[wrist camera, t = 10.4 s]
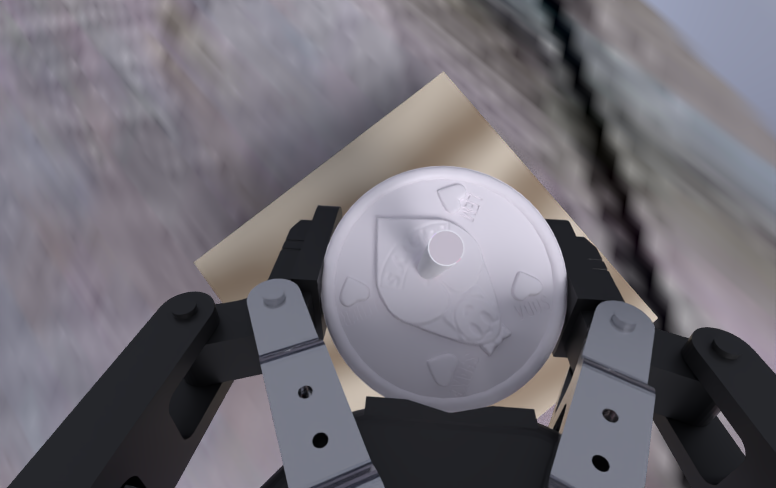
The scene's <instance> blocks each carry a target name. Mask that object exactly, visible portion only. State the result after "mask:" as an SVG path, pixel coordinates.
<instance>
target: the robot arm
mask: <svg viewBox="0 0 776 488" xmlns="http://www.w3.org/2000/svg"><path fill="white" fill-rule="evenodd" d="M341 219H342V208H341V207H340V206H323V205H318V206H317V208H316V211H315V213H314V216H313V219H312V220H300V221H299V222H298V223H296V224H295V225H294V226H293V227H292V228H290V231H289V233H288V235H287V237H286V241H285V242H284V244H283V246H282V250H281V251H280V253H279V256H278V258H277V260H276V262H275V265H274V267H273V269H272V271H271V274H270V276H269V278H268V280H267V281H264V282H262V283H260V284H258V285H257V286H255V287H254V288H253V289H252V290H251V291H250V293H249V294H248V297H247V298H245V299H242V300H238V301H232V302H227V303H221V304H215V303H214V301H213V299H212V298H211V296H209V295H208V294H205V293H202V292H187V293H183V294H180V295H177V296H175V297H173V298H171V299H169V300H168V301H166V302H165V303H164V304H163V305H162V306H161V307H160V308H159V309H158V310H157V312H156V313H155V314H154V315H153V316H152V317H151V319H150V320H149V321H148V322H147V323H146V325H145V326H144V327H143V328H142V329H141V330H140V332H139V333H138V334H137V335H136V336H135V337H134V339H133V340H132V341H131V342H130V343H129V345H128V346H127V347H126V348H125V349H124V350H123V352H122V353H121V354H120V355H119V356H118V358H117V359H116V360H115V361H114V362H113V363H112V365H111V366H110V367H109V368H108V369H107V371H106V372H105V373H104V374H103V375H102V376H101V378H100V379H99V380H98V381H97V382H96V383H95V385H94V386H93V387H92V388H91V389H90V391H89V392H88V393H87V394H86V395H85V396H84V398H83V399H82V400H81V401H80V402H79V404H78V405H77V406H76V407H75V408H74V409H73V411H72V412H71V413H70V414H69V415H68V417H67V418H66V419H65V420H64V421H63V422H62V424H61V425H60V426H59V427H58V428H57V429H56V431H55V432H54V433H53V434H52V435H51V437H50V438H49V439H48V440H47V441H46V442H45V444H44V445H43V446H42V447H41V448H40V450H39V451H38V452H37V453H36V454H35V455H34V457H33V458H32V459H31V460H30V461H29V463H28V464H27V465H26V466H25V467H24V468H23V470H22V471H21V472H20V473H19V474H18V475H17V477H16V478H15V479H14V480H13V481H12V483H11V484H10V485H9V486H8V487H7V488H175V486H176V485H177V483H178V481H179V479H180V477H181V476H182V474H183V472H184V470H185V468H186V466H187V465H188V463H189V461H190V459H191V457H192V456H193V454H194V452H195V450H196V448H197V446H198V445H199V443H200V441H201V439H202V437H203V436H204V434H205V432H206V430H207V428H208V426H209V425H210V423H211V421H212V419H213V417H214V415H215V414H216V412H217V410H218V408H219V406H220V405H221V403H222V401H223V399H224V397H225V395H226V394H227V392H228V390H229V388H230V386H231V385H232V383H233V381H234V380H236V379H240V378H245V377H250V376H254V375H259V374H263V378H264V382H265V387H266V391H267V396H268V400H269V404H270V409H271V413H272V417H273V422H274V426H275V431H276V435H277V439H278V444H279V448H280V453H281V457H282V461H283V466H282V467H281V468H280V469H279V470H278V471H277V472H276V473H275V474H273V475H272V476H271V477H270V478H269V479H268V480H267V481H266V482H265V483H264V484H263V485H262V486H261V487H260V488H645V482H646V473H647V464H648V456H649V447H650V438H651V430H652V421H654V422H655V424H656V426H657V428H658V429H659V431H660V433H661V435H662V436H663V438H664V440H665V442H666V443H667V445H668V447H669V449H670V450H671V452H672V454H673V456H674V457H675V459H676V461H677V463H678V464H679V466H680V468H681V470H682V471H683V473H684V475H685V477H686V478H687V480H688V482H689V484H690V485H691V487H692V488H776V374H775V373H774V372H773V371H772V370H771V369H770V367H769V366H768V365H767V364H766V363H765V362H764V361H763V360H762V359H761V357H760V356H759V355H758V354H757V353H756V352H755V351H754V350H753V349H752V348H751V347H750V346H749V345H748V344H747V343H746V342H744V341H743V340H742V339H740V338H739V337H737V336H735V335H733V334H731V333H729V332H726V331H724V330H720V329H717V328H710V327H705V328H699V329H697V330H695V331H694V332H693V334H692V335H691V336H690V338H686V337H682V336H679V335H675V334H672V333H669V332H665V331H662V330H659V329H656V328H654V324H653V322H652V321H651V319H650V318H649V317H648V316H647V315H646V314H645V313H644V312H643V311H641V310H640V309H638V308H637V307H635V306H633V305H631V304H628V303H625V301H624V299H623V297H622V295H621V293H620V291H619V290H618V288H617V286H616V284H615V282H614V280H613V278H612V276H611V274H610V272H609V271H607V267H606V265H605V263H604V261H602V257H601V255H600V253H599V252H598V250H597V248H596V247H595V246H594V245H593V244H592V243H591V242H590V241H588V240H587V239H586V238H585V237H579V236H576V234H575V232H574V230H573V228H572V226H571V224H570V222H569V221H568V220H558V219H545V220H546V222H547V223H548V225H549V227H550V228H551V230H552V232H553V234H554V236H555V238H556V240H557V242H558V244H559V247H560V249H561V252H562V256H563V259H564V263H565V268H566V273H567V287H568V288H567V311H566V316H565V320H564V325H563V328H562V331H561V334H560V337H559V339H558V341H557V343H556V346H555V348H554V349H553V351H552V354H553V357H562V358H568V361H569V364H570V365H569V367H568V370H567V372H566V374H565V377H564V380H563V383H562V387H561V390H560V393H559V396H558V399H557V402H556V405H555V408H554V411H553V414H552V417H551V420H550V423H549V426H548V427H547V426H544V425H542V424H539V423H537V419H536V414H535V410H534V409H527V408H514V407H501V406H489V407H483V408H477V409H471V410H466V411H460V412H453V413H450V412H445V411H442V410H439V409H436V408H433V407H429V406H426V405H423V404H420V403H417V402H414V401H411V400H408V399H397V398H384V397H371V396H366V402H365V409H361V410H356V411H353V412H352V411H351V409H350V406H349V404H348V401H347V398H346V396H345V393H344V391H343V388H342V386H341V383H340V380H339V378H338V375H337V373H336V370H335V368H334V365H333V363H332V360H331V357H330V355H329V352H328V350H327V347H326V345H325V343H324V341H323V340H324V336H325V332H326V328H327V325H326V322H325V319H324V314H323V309H322V302H321V284H322V273H323V264H324V257H325V254H326V250H327V247H328V245H329V242H330V240H331V237H332V235H333V233H334V231H335V229H336V227H337V225H338V224H339V222H340V221H341ZM720 411H721V412H722V413H723V415H724V416H725V417H726V419H727V420H728V421H729V423H730V424H731V426H732V427H733V428H734V430H735V431H736V433H737V434H738V435H739V437H740V438H741V440H742V442H743V444H744V447H745V452H746V456H745V455H744V454H743V453H742V451H741V450H740V448H739V447H738V445H737V444H736V443H735V441H734V440H733V438H732V437H731V436H730V434H729V433H728V431H727V430H726V428H725V427H724V426H723V424H722V423H721V421H720V420H719V419H718V417H717V415H718V414H719V412H720Z"/></svg>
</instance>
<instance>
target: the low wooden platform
mask: <svg viewBox="0 0 776 488" xmlns="http://www.w3.org/2000/svg"><path fill="white" fill-rule="evenodd" d="M430 166H454V167H461V168H467V169H471V170H475V171H479V172H482V173H485V174H487V175H490V176H492V177H494V178H497V179H499V180H501V181H502V182H504V183H506V184H508V185H509V186H511V187H512V188H514V189H515V190H516V191H518V192H519V193H520V194H522V195H523V196H524V197H525V198H526V199H527V200H529V201H530V202H531V204H532V205H533V206H534V207H535V208H536V209H537V210H538V211H539V212H540V214H541V215H542V216H543V218H544V219H558V220H568V221H569V222H570V224H571V226H572V228H573V230H574V232H575V234H576V236H579V237H585V238H586V239H587V240H588V241H590V239H589V238H588V237H587V236H586V235H585V234H584V233H583V231H582V230H581V229H580V228H579V227H578V226H577V224H576V223H575V222H574V221H573V220H572V219H571V218H570V216H569V215H568V214H567V213H566V212H565V211H564V210H563V208H562V207H561V206H560V205H559V204H558V203H557V201H556V200H555V199H554V198H553V197H552V196H551V195H550V193H549V192H548V191H547V190H546V189H545V188H544V187H543V185H542V184H541V183H540V182H539V181H538V180H537V178H536V177H535V176H534V175H533V174H532V173H531V172H530V170H529V169H528V168H527V167H526V166H525V165H524V164H523V162H522V161H521V160H520V159H519V158H518V157H517V155H516V154H515V153H514V152H513V151H512V150H511V149H510V147H509V146H508V145H507V144H506V143H505V142H504V141H503V139H502V138H501V137H500V136H499V135H498V134H497V132H496V131H495V130H494V129H493V128H492V127H491V126H490V124H489V123H488V122H487V121H486V120H485V119H484V118H483V116H482V115H481V114H480V113H479V112H478V111H477V109H476V108H475V107H474V106H473V105H472V104H471V103H470V101H469V100H468V99H467V98H466V97H465V96H464V95H463V93H462V92H461V91H460V90H459V89H458V88H457V86H456V85H455V84H454V83H453V82H452V81H451V80H450V78H449V77H448V76H447V75H446V74H445V73H444V72H442V73H441V74H440V75H438V76H437V77H436V78H435V79H433V80H432V81H431V82H429V83H428V84H427V85H425V86H424V87H423V88H421V89H420V90H419V91H417V92H416V93H415V94H414V95H412V96H411V97H410V98H408V99H407V100H406V101H404V102H403V103H402V104H400V105H399V106H398V107H397V108H395V109H394V110H393V111H391V112H390V113H389V114H387V115H386V116H385V117H383V118H382V119H381V120H380V121H378V122H377V123H376V124H374V125H373V126H372V127H370V128H369V129H368V130H366V131H365V132H364V133H362V134H361V135H360V136H359V137H357V138H356V139H355V140H353V141H352V142H351V143H349V144H348V145H347V146H345V147H344V148H343V149H342V150H340V151H339V152H338V153H336V154H335V155H334V156H332V157H331V158H330V159H328V160H327V161H326V162H325V163H323V164H322V165H321V166H319V167H318V168H317V169H315V170H314V171H313V172H311V173H310V174H309V175H308V176H306V177H305V178H304V179H302V180H301V181H300V182H298V183H297V184H296V185H294V186H293V187H292V188H290V189H289V190H288V191H287V192H285V193H284V194H283V195H281V196H280V197H279V198H277V199H276V200H275V201H273V202H272V203H271V204H270V205H268V206H267V207H266V208H264V209H263V210H262V211H260V212H259V213H258V214H256V215H255V216H254V217H253V218H251V219H250V220H249V221H247V222H246V223H245V224H243V225H242V226H241V227H239V228H238V229H237V230H235V231H234V232H233V233H232V234H230V235H229V236H228V237H226V238H225V239H224V240H222V241H221V242H220V243H218V244H217V245H216V246H215V247H213V248H212V249H211V250H209V251H208V252H207V253H205V254H204V255H203V256H201V257H200V258H199V259H198V260H196V261H195V262H194V264H195V265H196V267H197V268H198V270H199V271H200V272H201V274H202V275H203V276H204V278H205V279H206V281H207V282H208V283H209V285H210V286H211V288H212V289H213V290H214V292H215V293H216V295H217V296H218V297H219V299H220V300H221V302H222V303H227V302H232V301H238V300H242V299H245V298H247V297H248V294H249V293H250V291H251V290H252V289H253V288H254V287H255V286H257V285H258V284H260V283H262V282H264V281H267V280H268V278H269V276H270V274H271V271H272V269H273V267H274V265H275V262H276V260H277V258H278V256H279V253H280V251H281V250H282V246H283V244H284V242H285V241H286V237H287V235H288V233H289V231H290V228H292V227H293V226H294V225H295V224H296V223H298V222H299V221H300V220H312V219H313V216H314V213H315V211H316V208H317V206H318V205H323V206H340V207H341V208H342V218H343V216H344V215H345V214H346V212H347V211H348V210H349V209H350V207H351V206H352V205H353V204H354V203H355V202H356V201H357V200H358V199H359V198H360V197H361V196H363V195H364V194H365V193H366V192H367V191H369V190H370V189H372V188H373V187H374V186H376V185H377V184H379V183H381V182H383V181H384V180H386V179H388V178H390V177H393V176H395V175H397V174H400V173H403V172H406V171H409V170H413V169H418V168H423V167H430ZM590 242H591V241H590ZM591 243H592V242H591ZM592 244H593V243H592ZM593 245H594V244H593ZM594 246H595V245H594ZM595 247H596V246H595ZM596 248H597V247H596ZM597 250H598V249H597ZM598 252H599V253H600V255H601V257H602V261H604V263H605V265H606V267H607V271H609V272H610V274H611V276H612V278H613V280H614V282H615V284H616V286H617V288H618V290H619V291H620V293H621V295H622V297H623V299H624V301H625V303H628V304H631V305H633V306H635V307H637V308H638V309H640V310H641V311H643V312H644V313H645V314H646V315H647V316H648V317H649V318H650V319H651V321H652V322H654V321H655V320H656V319H658V318H657V316H656V315H655V314H654V313H653V312H652V311H651V310H650V308H649V307H648V306H647V305H646V304H645V303H644V302H643V300H642V299H641V298H640V297H639V296H638V295H637V293H636V292H635V291H634V290H633V289H632V288H631V287H630V285H629V284H628V283H627V282H626V281H625V280H624V279H623V277H622V276H621V275H620V274H619V273H618V272H617V270H616V269H615V268H614V267H613V266H612V265H611V264H610V262H609V261H608V260H607V259H606V258H605V257H604V256H603V254H602V253H601V252H600V251H599V250H598ZM323 341H324V343H325V345H326V347H327V350H328V352H329V355H330V357H331V360H332V363H333V365H334V368H335V370H336V373H337V375H338V378H339V380H340V383H341V386H342V388H343V391H344V393H345V396H346V398H347V401H348V404H349V406H350V409H351V411H352V412H353V411H356V410H361V409H365V402H366V396H371V397H383V396H382V395H380V394H379V393H377V392H376V391H374V390H373V389H371V388H370V387H369V386H368V385H366V384H365V383H364V382H363V381H362V380H361V379H360V378H359V377H358V376H357V375H356V374H355V373H354V372H353V371H352V370H351V369H350V367H349V366H348V365H347V364H346V363H345V361H344V360H343V358H342V357H341V355H340V354H339V352H338V350H337V348H336V347H335V345H334V343H333V341H332V338H331V336H330V334H329V331H328V328H326V332H325V336H324V340H323ZM569 365H570V364H569V361H568V358H562V357H553V354H552V353H551V355H550V357H549V358H548V360H547V361H546V362H545V364H544V365H543V367H542V368H541V369H540V370H539V371H538V372H537V374H536V375H535V376H534V377H533V378H532V379H531V380H530V381H529V382H528V383H526V384H525V385H524V386H523V387H522V388H520V389H519V390H518V391H516V392H515V393H513V394H512V395H510V396H508V397H507V398H505V399H503V400H501V401H499V402H497V403H495V404H493V405H490V406H501V407H514V408H527V409H534V410H535V414H536V419H537V418H539V417H540V416H541V415H542V414H543V413H545V412H546V411H547V410H548V409H549V408H551V407H552V406H553V405H554V404H555V403H556V402H557V399H558V396H559V393H560V390H561V387H562V383H563V380H564V377H565V374H566V372H567V370H568V367H569ZM384 398H385V397H384ZM487 407H489V406H487Z"/></svg>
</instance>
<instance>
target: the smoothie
mask: <svg viewBox="0 0 776 488" xmlns="http://www.w3.org/2000/svg"><path fill="white" fill-rule="evenodd" d="M567 288H568V287H567V273H566V268H565V263H564V259H563V256H562V252H561V249H560V247H559V244H558V242H557V240H556V238H555V236H554V234H553V232H552V230H551V228H550V227H549V225H548V223H547V222H546V220H545V219H544V218H543V216H542V215H541V214H540V212H539V211H538V210H537V209H536V208H535V207H534V206H533V205H532V204H531V202H530V201H529V200H527V199H526V198H525V197H524V196H523V195H522V194H520V193H519V192H518V191H516V190H515V189H514V188H512V187H511V186H509V185H508V184H506V183H504V182H502V181H501V180H499V179H497V178H494V177H492V176H490V175H487V174H485V173H482V172H479V171H475V170H471V169H467V168H461V167H454V166H430V167H423V168H418V169H413V170H409V171H406V172H403V173H400V174H397V175H395V176H393V177H390V178H388V179H386V180H384V181H383V182H381V183H379V184H377V185H376V186H374V187H373V188H372V189H370V190H369V191H367V192H366V193H365V194H364V195H363V196H361V197H360V198H359V199H358V200H357V201H356V202H355V203H354V204H353V205H352V206H351V207H350V209H349V210H348V211H347V212H346V214H345V215H344V216H343V218H342V219H341V221H340V222H339V224H338V225H337V227H336V229H335V231H334V233H333V235H332V237H331V240H330V242H329V245H328V247H327V250H326V254H325V257H324V264H323V273H322V284H321V302H322V309H323V314H324V319H325V322H326V325H327V328H328V331H329V334H330V336H331V338H332V341H333V343H334V345H335V347H336V348H337V350H338V352H339V354H340V355H341V357H342V358H343V360H344V361H345V363H346V364H347V365H348V366H349V367H350V369H351V370H352V371H353V372H354V373H355V374H356V375H357V376H358V377H359V378H360V379H361V380H362V381H363V382H364V383H365V384H366V385H368V386H369V387H370V388H371V389H373V390H374V391H376V392H377V393H379V394H380V395H382V396H383V397H385V398H397V399H408V400H411V401H414V402H417V403H420V404H423V405H426V406H429V407H433V408H436V409H439V410H442V411H445V412H450V413H453V412H460V411H466V410H471V409H477V408H483V407H487V406H490V405H493V404H495V403H497V402H499V401H501V400H503V399H505V398H507V397H508V396H510V395H512V394H513V393H515V392H516V391H518V390H519V389H520V388H522V387H523V386H524V385H525V384H526V383H528V382H529V381H530V380H531V379H532V378H533V377H534V376H535V375H536V374H537V372H538V371H539V370H540V369H541V368H542V367H543V365H544V364H545V362H546V361H547V360H548V358H549V357H550V355H551V353H552V351H553V349H554V348H555V346H556V343H557V341H558V339H559V337H560V334H561V331H562V328H563V325H564V320H565V316H566V311H567Z"/></svg>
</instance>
